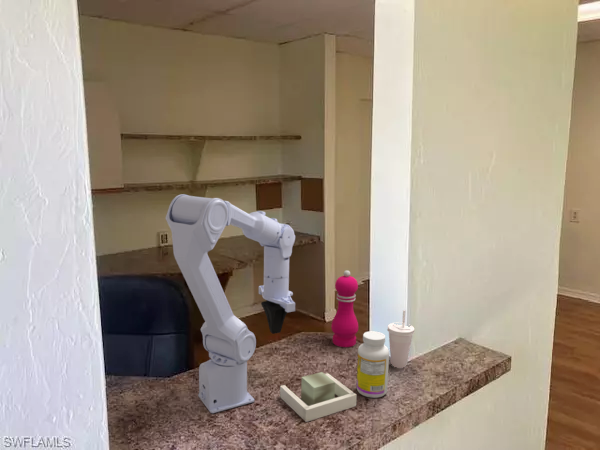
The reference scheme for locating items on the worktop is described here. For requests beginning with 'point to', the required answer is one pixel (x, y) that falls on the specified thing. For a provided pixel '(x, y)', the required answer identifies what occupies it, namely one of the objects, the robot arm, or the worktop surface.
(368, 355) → the supplement bottle
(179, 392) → the worktop surface
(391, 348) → the smoothie
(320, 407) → the block
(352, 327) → the pepper mill
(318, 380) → the block
